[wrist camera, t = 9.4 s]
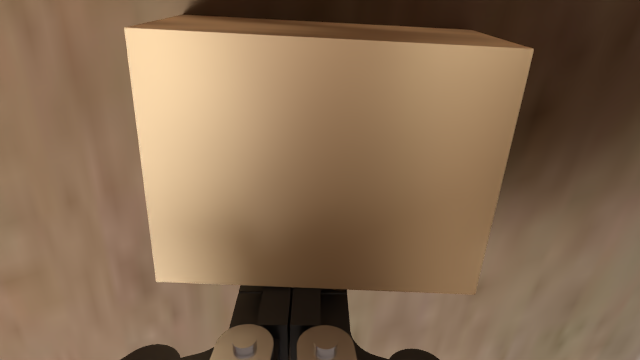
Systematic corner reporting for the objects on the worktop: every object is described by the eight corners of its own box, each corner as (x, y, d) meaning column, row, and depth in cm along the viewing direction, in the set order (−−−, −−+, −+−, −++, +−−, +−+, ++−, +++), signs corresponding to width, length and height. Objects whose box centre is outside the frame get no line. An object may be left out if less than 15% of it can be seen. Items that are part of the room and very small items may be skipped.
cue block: (197, 206, 15) (155, 281, 11) (183, 14, 12) (124, 27, 8) (436, 217, 15) (475, 294, 11) (470, 29, 12) (533, 48, 9)
